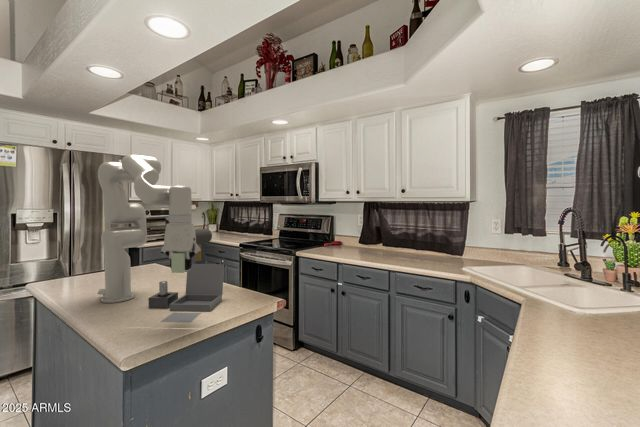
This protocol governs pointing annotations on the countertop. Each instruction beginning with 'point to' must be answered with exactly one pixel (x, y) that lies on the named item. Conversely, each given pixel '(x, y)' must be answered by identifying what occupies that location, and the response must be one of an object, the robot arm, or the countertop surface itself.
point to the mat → (181, 317)
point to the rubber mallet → (201, 241)
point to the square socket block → (162, 300)
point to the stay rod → (163, 289)
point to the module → (178, 262)
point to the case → (195, 302)
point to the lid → (205, 279)
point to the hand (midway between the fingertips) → (181, 268)
